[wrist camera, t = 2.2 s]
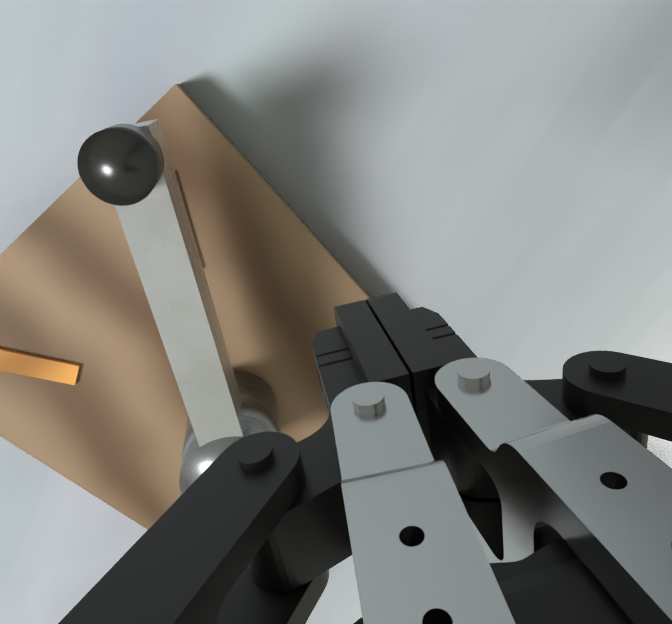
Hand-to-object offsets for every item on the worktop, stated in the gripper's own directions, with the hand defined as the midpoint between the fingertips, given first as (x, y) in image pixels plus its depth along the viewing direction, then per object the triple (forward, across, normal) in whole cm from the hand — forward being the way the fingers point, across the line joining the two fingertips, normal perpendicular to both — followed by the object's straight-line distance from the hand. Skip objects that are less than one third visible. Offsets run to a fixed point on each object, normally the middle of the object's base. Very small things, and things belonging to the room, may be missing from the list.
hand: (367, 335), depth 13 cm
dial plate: (+17, +6, +11) cm, 21 cm away
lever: (+15, +6, +4) cm, 17 cm away
